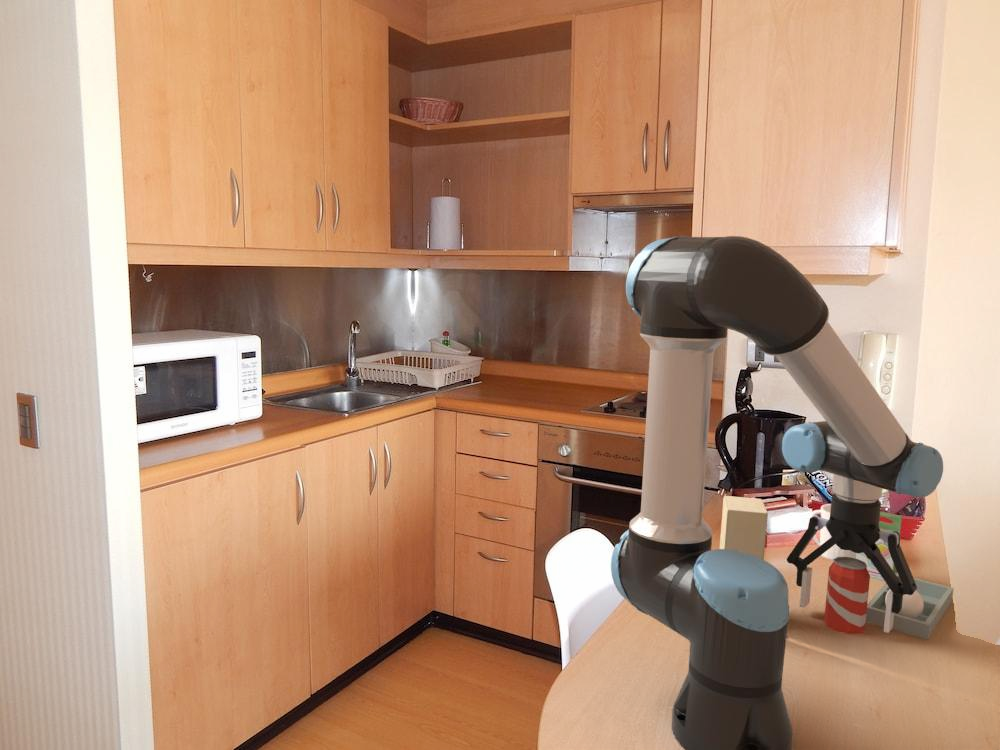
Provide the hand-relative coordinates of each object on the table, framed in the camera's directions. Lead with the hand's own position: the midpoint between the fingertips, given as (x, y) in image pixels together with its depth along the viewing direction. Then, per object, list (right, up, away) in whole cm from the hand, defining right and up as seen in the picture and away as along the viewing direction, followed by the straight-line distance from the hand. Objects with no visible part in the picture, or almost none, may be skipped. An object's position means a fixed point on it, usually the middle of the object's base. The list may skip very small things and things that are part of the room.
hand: (845, 616), depth 133 cm
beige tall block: (-17, -2, +3) cm, 18 cm away
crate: (+14, -2, +7) cm, 16 cm away
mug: (+13, +2, +34) cm, 36 cm away
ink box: (+16, 0, +22) cm, 27 cm away
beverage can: (0, -2, 0) cm, 2 cm away
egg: (+11, -1, +3) cm, 12 cm away
